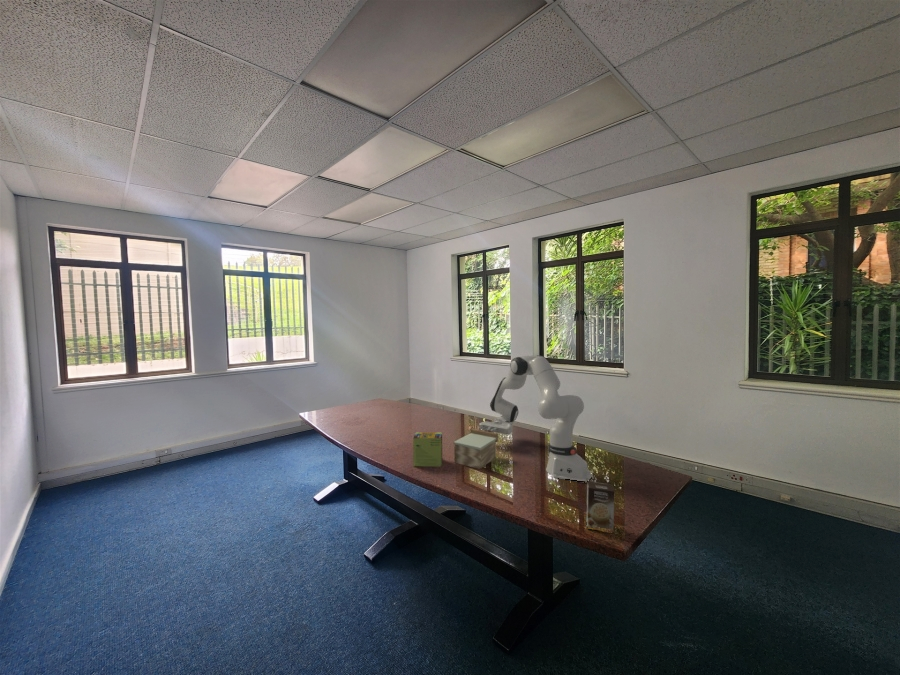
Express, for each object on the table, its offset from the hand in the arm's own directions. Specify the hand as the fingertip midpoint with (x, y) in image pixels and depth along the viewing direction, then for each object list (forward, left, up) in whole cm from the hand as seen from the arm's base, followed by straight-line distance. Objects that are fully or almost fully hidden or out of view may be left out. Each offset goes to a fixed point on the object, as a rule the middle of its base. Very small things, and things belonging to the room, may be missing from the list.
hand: (489, 431), depth 213 cm
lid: (0, +17, -3) cm, 17 cm away
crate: (0, +18, -12) cm, 21 cm away
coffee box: (-71, +49, -12) cm, 87 cm away
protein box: (+20, +35, -12) cm, 42 cm away
